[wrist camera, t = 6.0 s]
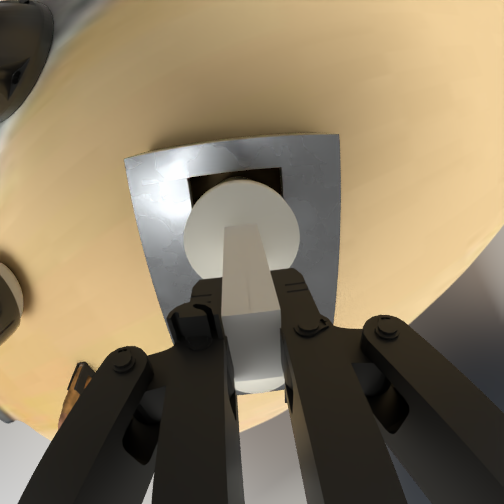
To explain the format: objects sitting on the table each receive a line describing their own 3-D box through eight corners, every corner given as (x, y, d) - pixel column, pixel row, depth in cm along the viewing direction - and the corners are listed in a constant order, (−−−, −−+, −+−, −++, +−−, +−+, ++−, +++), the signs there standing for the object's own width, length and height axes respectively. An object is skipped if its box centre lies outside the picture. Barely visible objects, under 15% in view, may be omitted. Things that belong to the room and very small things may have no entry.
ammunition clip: (125, 404, 36) (112, 466, 25) (117, 404, 36) (103, 464, 25) (85, 361, 31) (58, 428, 20) (77, 362, 31) (49, 427, 20)
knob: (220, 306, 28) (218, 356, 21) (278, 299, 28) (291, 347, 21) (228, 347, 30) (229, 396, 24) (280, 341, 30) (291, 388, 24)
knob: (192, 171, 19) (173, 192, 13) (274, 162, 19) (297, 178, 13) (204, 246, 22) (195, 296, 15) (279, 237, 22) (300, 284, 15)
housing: (149, 151, 21) (124, 158, 16) (313, 132, 21) (339, 134, 16) (198, 358, 31) (195, 397, 26) (312, 345, 32) (325, 381, 26)
